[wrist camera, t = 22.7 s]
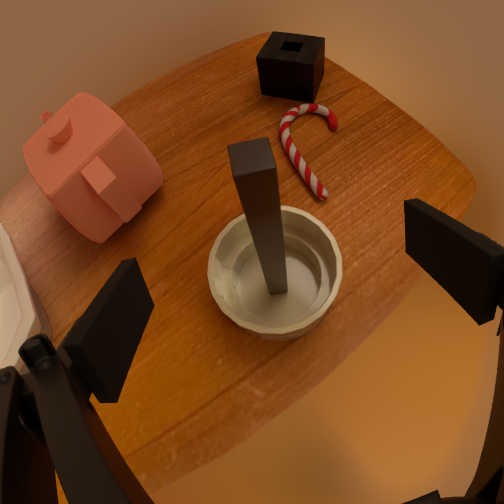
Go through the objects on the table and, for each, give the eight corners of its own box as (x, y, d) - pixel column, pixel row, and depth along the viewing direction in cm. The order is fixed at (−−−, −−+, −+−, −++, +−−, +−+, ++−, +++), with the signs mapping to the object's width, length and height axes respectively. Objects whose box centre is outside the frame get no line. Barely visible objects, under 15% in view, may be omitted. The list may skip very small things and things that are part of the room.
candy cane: (294, 200, 34) (273, 105, 39) (294, 206, 35) (274, 112, 40) (363, 191, 33) (330, 99, 39) (361, 197, 34) (329, 106, 40)
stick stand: (323, 73, 43) (324, 37, 36) (313, 103, 40) (313, 64, 34) (276, 66, 44) (273, 31, 38) (261, 94, 42) (255, 57, 36)
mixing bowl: (354, 275, 31) (367, 252, 25) (286, 364, 29) (285, 362, 23) (269, 216, 35) (263, 184, 29) (202, 295, 33) (181, 276, 27)
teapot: (53, 183, 42) (-2, 130, 29) (111, 127, 44) (69, 63, 31) (119, 278, 34) (40, 225, 21) (197, 201, 37) (152, 117, 24)
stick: (284, 274, 32) (267, 135, 13) (288, 291, 31) (277, 167, 12) (266, 278, 32) (226, 144, 13) (270, 295, 31) (232, 177, 13)
